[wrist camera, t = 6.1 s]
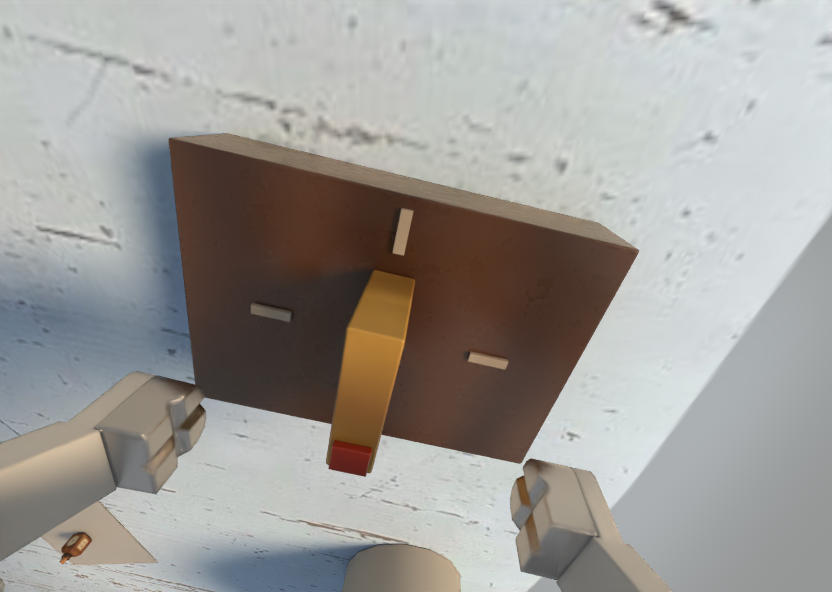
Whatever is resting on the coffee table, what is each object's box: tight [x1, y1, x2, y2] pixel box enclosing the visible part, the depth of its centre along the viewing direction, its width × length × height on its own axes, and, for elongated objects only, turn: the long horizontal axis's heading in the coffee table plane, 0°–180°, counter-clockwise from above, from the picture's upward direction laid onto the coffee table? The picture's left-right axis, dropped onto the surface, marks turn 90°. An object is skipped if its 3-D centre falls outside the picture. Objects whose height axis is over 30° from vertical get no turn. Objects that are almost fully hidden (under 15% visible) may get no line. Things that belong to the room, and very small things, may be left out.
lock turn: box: [326, 270, 415, 477], centre depth 11 cm, size 5×1×4 cm, turn 167°
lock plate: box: [169, 134, 639, 464], centre depth 14 cm, size 14×10×3 cm
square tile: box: [40, 501, 158, 565], centre depth 25 cm, size 8×8×2 cm
